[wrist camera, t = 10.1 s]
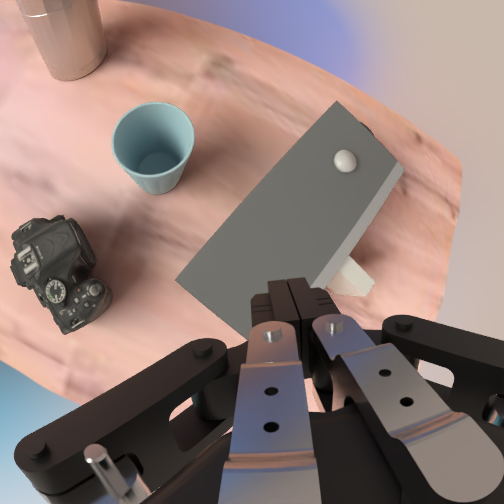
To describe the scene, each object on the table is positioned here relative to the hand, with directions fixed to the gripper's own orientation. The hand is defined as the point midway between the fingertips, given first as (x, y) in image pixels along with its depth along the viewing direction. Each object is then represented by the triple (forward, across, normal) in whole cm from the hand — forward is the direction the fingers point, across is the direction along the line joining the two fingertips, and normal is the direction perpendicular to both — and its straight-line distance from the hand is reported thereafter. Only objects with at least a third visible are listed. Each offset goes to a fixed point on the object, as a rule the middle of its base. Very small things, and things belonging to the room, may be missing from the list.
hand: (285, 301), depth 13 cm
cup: (+27, +11, -6) cm, 30 cm away
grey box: (+27, -2, +2) cm, 27 cm away
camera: (+21, +22, +4) cm, 31 cm away
